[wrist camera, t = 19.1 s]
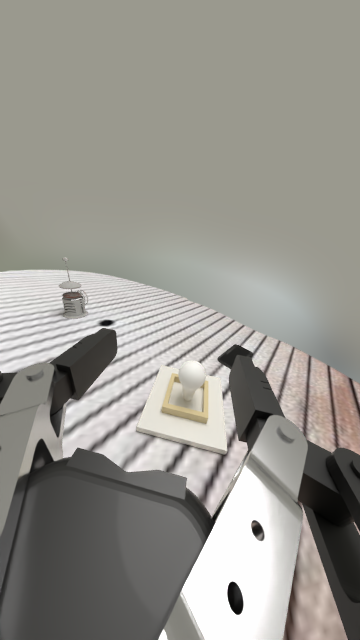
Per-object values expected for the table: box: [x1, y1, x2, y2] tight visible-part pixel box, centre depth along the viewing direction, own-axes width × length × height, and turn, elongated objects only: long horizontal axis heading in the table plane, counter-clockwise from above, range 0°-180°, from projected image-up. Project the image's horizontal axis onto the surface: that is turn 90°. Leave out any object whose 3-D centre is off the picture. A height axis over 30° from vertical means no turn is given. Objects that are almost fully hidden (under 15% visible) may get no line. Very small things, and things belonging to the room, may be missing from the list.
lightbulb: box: [178, 361, 206, 401], centre depth 35 cm, size 6×6×11 cm
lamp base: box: [137, 365, 227, 455], centre depth 37 cm, size 18×18×4 cm
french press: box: [59, 257, 88, 319], centre depth 66 cm, size 10×12×25 cm
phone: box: [218, 344, 253, 369], centre depth 57 cm, size 8×1×15 cm
